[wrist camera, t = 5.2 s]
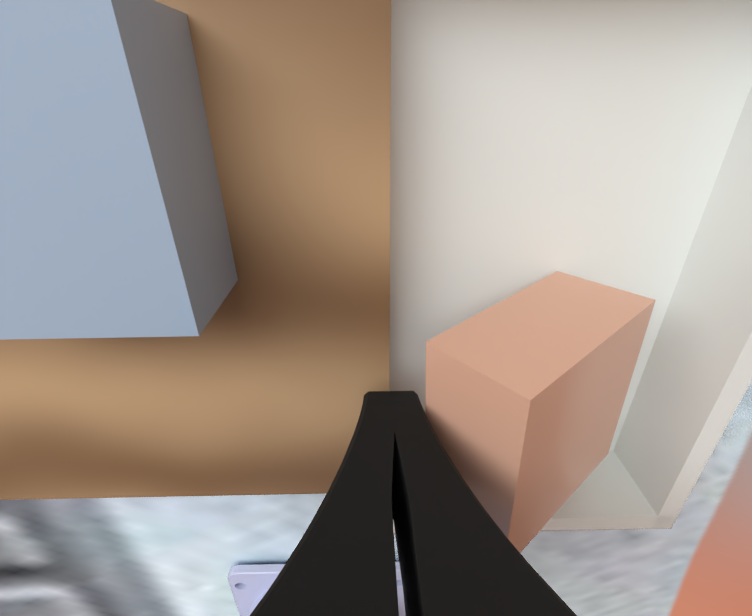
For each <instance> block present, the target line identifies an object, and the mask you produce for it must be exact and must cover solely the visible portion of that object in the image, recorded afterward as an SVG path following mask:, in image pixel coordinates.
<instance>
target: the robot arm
mask: <svg viewBox="0 0 752 616" xmlns="http://www.w3.org/2000/svg"><path fill="white" fill-rule="evenodd" d="M393 519H394V526H395V534H396V541H397V549H398V556H399V562H395V550H394V534H393ZM228 581H229V584H230V587H231V590H232V593H233V596H234V599H235V602H236V605H237V608H238V611H239V614H240V616H577V615H576V614H575V613H574V612H573V611H572V610H571V609H570V608H569V607H568V606H567V605H566V603H565V602H564V601H563V600H562V599H561V598H560V597H559V596H558V595H557V594H556V593H555V592H554V590H553V589H552V588H551V587H550V586H549V585H548V584H547V583H546V582H545V581H544V580H543V579H542V577H541V576H540V575H539V574H538V573H537V572H536V571H535V570H534V569H533V568H532V567H531V565H530V564H529V563H528V562H527V561H526V560H525V558H524V557H523V556H522V555H521V554H520V553H519V551H518V550H517V549H516V548H515V547H514V545H513V544H512V543H511V542H510V541H509V539H508V538H507V537H506V536H505V534H504V533H503V532H502V531H501V529H500V528H499V527H498V526H497V524H496V523H495V522H494V521H493V519H492V518H491V517H490V515H489V514H488V513H487V511H486V510H485V509H484V507H483V506H482V505H481V503H480V502H479V501H478V499H477V498H476V496H475V495H474V493H473V492H472V491H471V489H470V488H469V486H468V485H467V483H466V482H465V480H464V479H463V478H462V476H461V474H460V473H459V471H458V470H457V468H456V467H455V465H454V464H453V462H452V460H451V459H450V457H449V455H448V454H447V452H446V450H445V449H444V447H443V445H442V444H441V442H440V440H439V438H438V437H437V435H436V433H435V431H434V429H433V427H432V426H431V424H430V422H429V420H428V418H427V416H426V414H425V411H424V409H423V407H422V405H421V402H420V400H419V397H418V394H417V393H415V392H414V391H368V392H367V393H366V394H365V395H364V398H363V404H362V408H361V412H360V416H359V419H358V422H357V425H356V428H355V431H354V434H353V437H352V439H351V442H350V444H349V446H348V449H347V451H346V454H345V456H344V459H343V461H342V463H341V465H340V468H339V470H338V472H337V474H336V476H335V478H334V480H333V482H332V484H331V486H330V488H329V490H328V492H327V494H326V496H325V498H324V500H323V502H322V504H321V506H320V507H319V509H318V511H317V513H316V515H315V517H314V518H313V520H312V522H311V523H310V525H309V527H308V529H307V530H306V532H305V534H304V535H303V537H302V539H301V540H300V542H299V544H298V545H297V547H296V548H295V550H294V551H293V553H292V555H291V556H290V558H289V559H288V561H287V562H286V564H250V565H235V566H233V567H231V569H230V571H229V574H228Z"/></svg>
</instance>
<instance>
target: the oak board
mask: <svg viewBox="0 0 752 616" xmlns="http://www.w3.org/2000/svg"><path fill="white" fill-rule="evenodd" d="M154 1H157V2H159V3H162V4H164V5H166V6H169V7H171V8H174V9H176V10H179V11H181V12H183V13H186V14H187V19H188V24H189V29H190V34H191V39H192V45H193V50H194V55H195V60H196V65H197V70H198V76H199V81H200V86H201V91H202V96H203V102H204V107H205V112H206V117H207V122H208V127H209V133H210V138H211V143H212V148H213V153H214V159H215V164H216V169H217V174H218V179H219V184H220V190H221V195H222V200H223V205H224V210H225V216H226V221H227V226H228V231H229V236H230V241H231V247H232V252H233V257H234V262H235V267H236V273H237V278H238V281H237V282H236V284H235V285H234V286H233V288H232V289H231V291H230V292H229V294H228V295H227V297H226V298H225V299H224V301H223V302H222V304H221V305H220V307H219V308H218V310H217V311H216V312H215V314H214V315H213V317H212V318H211V320H210V321H209V323H208V324H207V325H206V327H205V328H204V330H203V331H202V333H201V334H200V336H179V337H121V338H64V339H6V340H0V500H11V499H63V498H115V497H166V496H218V495H270V494H321V493H327V492H328V490H329V488H330V486H331V484H332V482H333V480H334V478H335V476H336V474H337V472H338V470H339V468H340V465H341V463H342V461H343V459H344V456H345V454H346V451H347V449H348V446H349V444H350V442H351V439H352V437H353V434H354V431H355V428H356V425H357V422H358V419H359V416H360V412H361V408H362V404H363V398H364V395H365V394H366V393H367V392H368V391H389V350H390V114H391V0H154Z"/></svg>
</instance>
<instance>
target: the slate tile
mask: <svg viewBox="0 0 752 616" xmlns="http://www.w3.org/2000/svg"><path fill="white" fill-rule="evenodd" d="M237 281H238V278H237V273H236V267H235V262H234V257H233V252H232V247H231V241H230V236H229V231H228V226H227V221H226V216H225V210H224V205H223V200H222V195H221V190H220V184H219V179H218V174H217V169H216V164H215V159H214V153H213V148H212V143H211V138H210V133H209V127H208V122H207V117H206V112H205V107H204V102H203V96H202V91H201V86H200V81H199V76H198V70H197V65H196V60H195V55H194V50H193V45H192V39H191V34H190V29H189V24H188V19H187V14H186V13H183V12H181V11H179V10H176V9H174V8H171V7H169V6H166V5H164V4H162V3H159V2H157V1H154V0H0V340H6V339H64V338H121V337H179V336H200V334H201V333H202V331H203V330H204V328H205V327H206V325H207V324H208V323H209V321H210V320H211V318H212V317H213V315H214V314H215V312H216V311H217V310H218V308H219V307H220V305H221V304H222V302H223V301H224V299H225V298H226V297H227V295H228V294H229V292H230V291H231V289H232V288H233V286H234V285H235V284H236V282H237Z"/></svg>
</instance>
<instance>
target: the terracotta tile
mask: <svg viewBox="0 0 752 616" xmlns="http://www.w3.org/2000/svg"><path fill="white" fill-rule="evenodd" d="M655 301H656V300H654V299H651V298H648V297H644V296H641V295H637V294H634V293H630V292H627V291H624V290H620V289H617V288H613V287H610V286H607V285H603V284H600V283H596V282H593V281H590V280H586V279H583V278H579V277H576V276H573V275H569V274H566V273H562V272H559V271H556V272H554V273H552V274H551V275H549V276H547V277H545V278H543V279H541V280H539V281H538V282H536V283H534V284H532V285H530V286H528V287H526V288H525V289H523V290H521V291H519V292H517V293H515V294H513V295H512V296H510V297H508V298H506V299H504V300H502V301H500V302H499V303H497V304H495V305H493V306H491V307H489V308H487V309H486V310H484V311H482V312H480V313H478V314H476V315H474V316H473V317H471V318H469V319H467V320H465V321H463V322H461V323H459V324H458V325H456V326H454V327H452V328H450V329H448V330H446V331H445V332H443V333H441V334H439V335H437V336H435V337H433V338H432V339H430V340H428V341H426V416H427V418H428V420H429V422H430V424H431V426H432V427H433V429H434V431H435V433H436V435H437V437H438V438H439V440H440V442H441V444H442V445H443V447H444V449H445V450H446V452H447V454H448V455H449V457H450V459H451V460H452V462H453V464H454V465H455V467H456V468H457V470H458V471H459V473H460V474H461V476H462V478H463V479H464V480H465V482H466V483H467V485H468V486H469V488H470V489H471V491H472V492H473V493H474V495H475V496H476V498H477V499H478V501H479V502H480V503H481V505H482V506H483V507H484V509H485V510H486V511H487V513H488V514H489V515H490V517H491V518H492V519H493V521H494V522H495V523H496V524H497V526H498V527H499V528H500V529H501V531H502V532H503V533H504V534H505V536H506V537H507V538H508V539H509V541H510V542H511V543H512V544H513V545H514V547H515V548H516V549H517V550H518V551H519V553H520V552H521V551H522V550H523V549H524V548H525V547H526V546H527V544H528V543H529V542H530V541H531V540H532V539H533V538H534V537H535V535H536V534H537V533H538V532H539V531H540V530H541V529H542V528H543V526H544V525H545V524H546V523H547V522H548V521H549V520H550V519H551V517H552V516H553V515H554V514H555V513H556V512H557V511H558V510H559V508H560V507H561V506H562V505H563V504H564V503H565V502H566V501H567V499H568V498H569V497H570V496H571V495H572V494H573V493H574V492H575V490H576V489H577V488H578V487H579V486H580V485H581V484H582V483H583V481H584V480H585V479H586V478H587V477H588V476H589V475H590V474H591V472H592V471H593V470H594V469H595V468H596V467H597V466H598V465H599V463H600V462H601V461H602V460H603V459H604V458H605V457H606V456H607V454H608V453H609V449H610V446H611V443H612V440H613V437H614V433H615V430H616V427H617V424H618V420H619V417H620V414H621V411H622V407H623V404H624V401H625V398H626V395H627V391H628V388H629V385H630V382H631V378H632V375H633V372H634V369H635V366H636V362H637V359H638V356H639V353H640V349H641V346H642V343H643V340H644V336H645V333H646V330H647V327H648V324H649V320H650V317H651V314H652V311H653V307H654V304H655Z"/></svg>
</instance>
